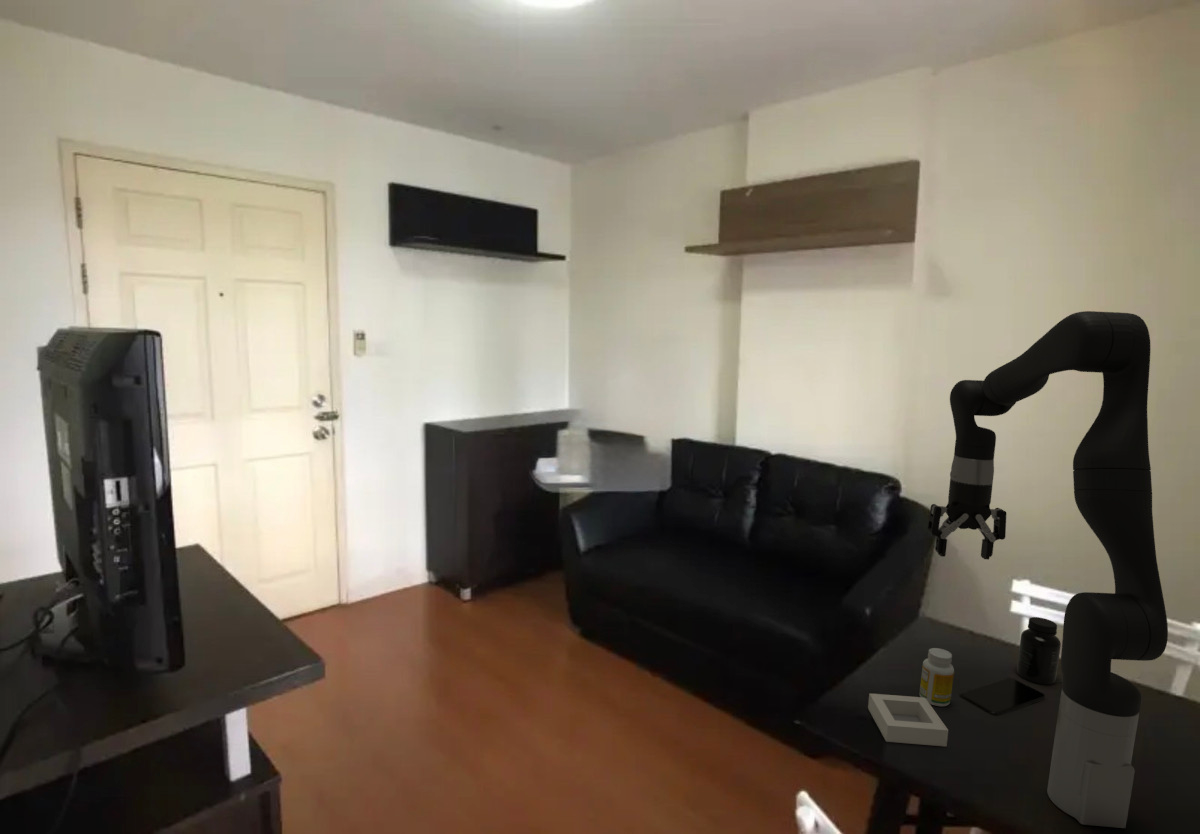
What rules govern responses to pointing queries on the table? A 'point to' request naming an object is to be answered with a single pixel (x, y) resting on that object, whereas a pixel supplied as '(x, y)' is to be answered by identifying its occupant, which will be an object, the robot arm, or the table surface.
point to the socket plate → (907, 720)
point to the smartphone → (1002, 696)
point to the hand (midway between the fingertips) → (963, 556)
